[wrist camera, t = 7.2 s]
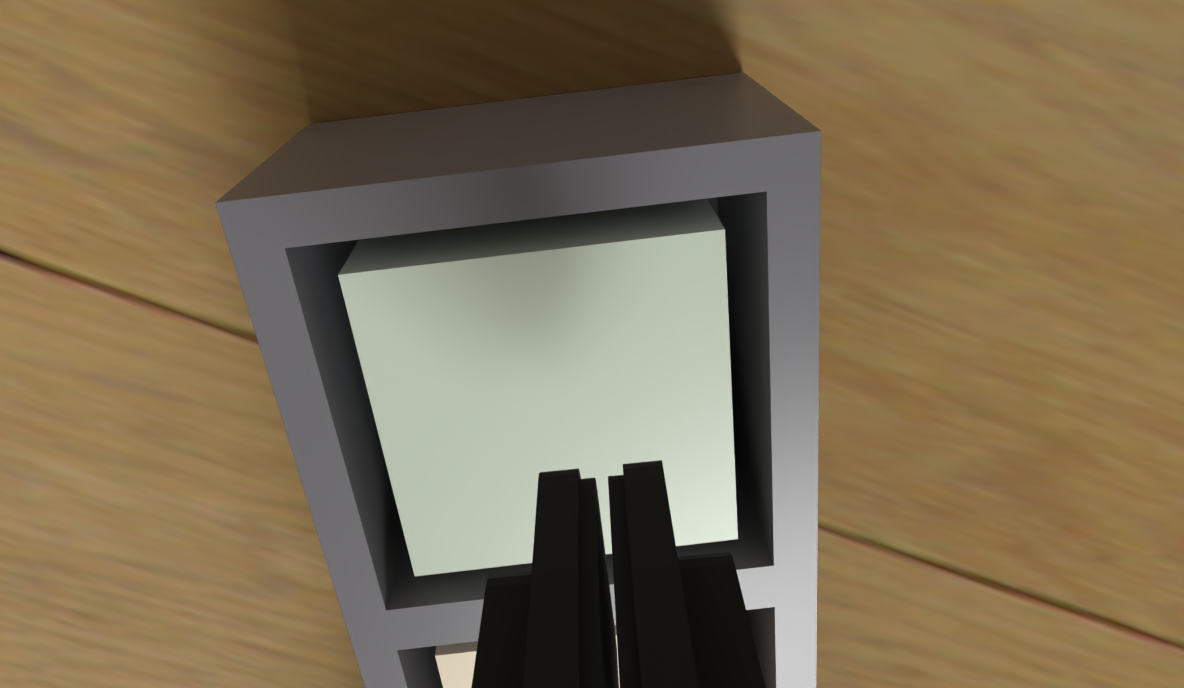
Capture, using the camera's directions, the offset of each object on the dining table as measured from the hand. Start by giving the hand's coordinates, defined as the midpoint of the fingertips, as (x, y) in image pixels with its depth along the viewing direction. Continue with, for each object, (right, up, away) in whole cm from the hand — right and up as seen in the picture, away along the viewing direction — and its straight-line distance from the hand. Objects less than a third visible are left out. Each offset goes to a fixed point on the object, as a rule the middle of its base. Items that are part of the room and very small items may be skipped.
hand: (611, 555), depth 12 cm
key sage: (-1, +3, +6) cm, 7 cm away
